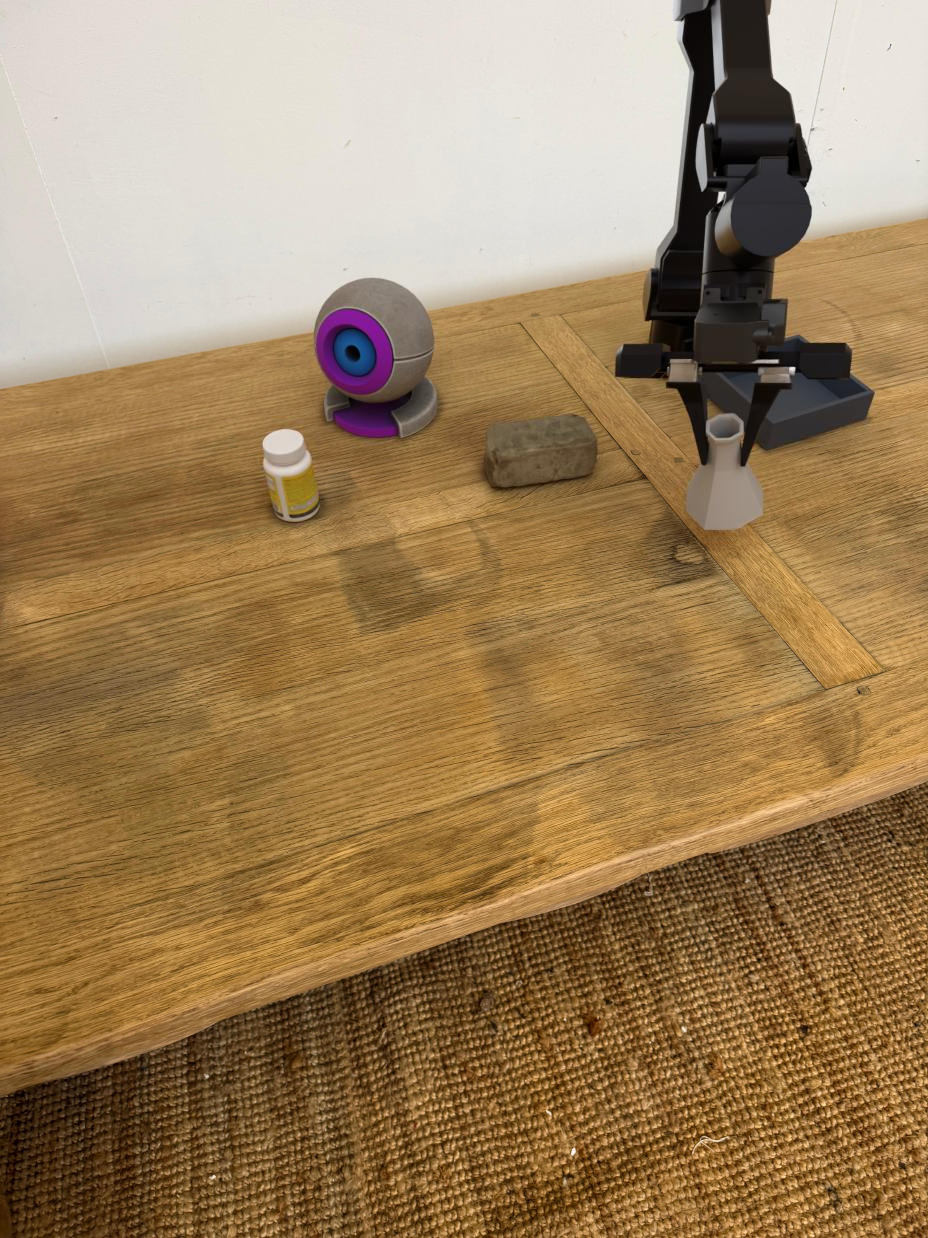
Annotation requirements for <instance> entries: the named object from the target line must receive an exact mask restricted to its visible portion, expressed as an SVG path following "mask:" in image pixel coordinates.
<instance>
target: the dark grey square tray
mask: <svg viewBox="0 0 928 1238" xmlns="http://www.w3.org/2000/svg"><path fill="white" fill-rule="evenodd" d="M801 343H811V342H810V341H809V340H807V339H806V338H804V337H803V336H802V334H799V333H798V334H795V335H791V336H788V337H785V341H784V345H783V346H768V349H767V351H800V348H801ZM760 379H761V377H758V373H704V377H703V376H701V383H706V384H707V398H708V399H710V401H712V402H713V403H714V404H715V405H716V406H717V407H718V408H719V409H720V410H722V412H723V413H724V414H726V413H735V414H736V415H737V416H738V417H739V418H740V419H741V420H742V421H743V422H744V429H743V432H745V430H746V425H747V420H748V416H749V411H750V407H751V401H752V396H753V390H754V384H755V383H760ZM791 383H793V388H792V390H781V391H780V392H779V394H778V395H777V397H776V399H775V401H774V403H773V404H772V406H771V408H770V410H769V412H768V413H767V415H766V417H765V419H764V421H763V424H762V426H761V428H760V431H759V433H758V436H757V438H756V441H755V443H757V444H758V445H759V446H761V448H763V449H764V450H765V451H766V452H767V451H769V450H773V449H775V448H779V447H782V446H786V445H789V444H791V443H795V442H798V441H801V440H804V439H807V438H808V439H809V438H810V437H813V436H817V435H821V434H823V433H826V432H829V431H833V430H836V429H839V428H842V427H845V426H849V425H851V424H855V423H858V422H861V421H865V420H867V417H868V415H869V411H870V408H871V405H872V403H873V401H874V400H873V399H874V397H875V395H876V394H875V390H873V389H871V388H870V387H869V386H868V385H866V384H865V383H863V381H861V380H860V379H858V378H857V377H856V376H855V375H853V374H852V372H850V378H849V379H847V380H808V379H807V378H806V377H805V376H804V375H803V374H802V373H795V377H792V380H791Z"/></svg>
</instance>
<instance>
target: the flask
mask: <svg viewBox="0 0 928 1238" xmlns="http://www.w3.org/2000/svg"><path fill="white" fill-rule="evenodd" d="M743 429H744V422H743V421H742V420H741V419H740V418H739V417H738V416H737V415H736V414H735V413H718V414H715V415H714V416H712V417H711V418H708V420H707V421H706V435H707V436H708V439H709V443H708V456H707V465H706V466H704V465H701V462H700V463H699V464H698V467H697V468H696V470H695V471H694V473H693V475H692V477H691V479H690V480H689V481H688V484H687V485H686V499H685V511H686V512H687V514H688V515H689V516H690V517H691V518H692V519H693V520H694V522H696V523H697V524H698V525H699V526H700V527H701V528H702V529H703V530H704V531H712V530H713V531H722V530H723V531H724V530H725V531H729V530H731V531H732V530H733V531H734V530H736V531H737V530H738V529H740V528H742V527H744V526H745V525H747V524H749V523H751V522H753V521H754V520H756V519H758V518H759V517H761V516H763V515H764V489H763V487H762V485H761V483H760V481H759V479H758V478H757V475H756V474H755V473H754V471H753V470H752V467H751V465H750V464H749V462H748V461H747V463H746V466H745V467H741V466H740V462H741V449H742V442H741V438H744V430H743Z"/></svg>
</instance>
